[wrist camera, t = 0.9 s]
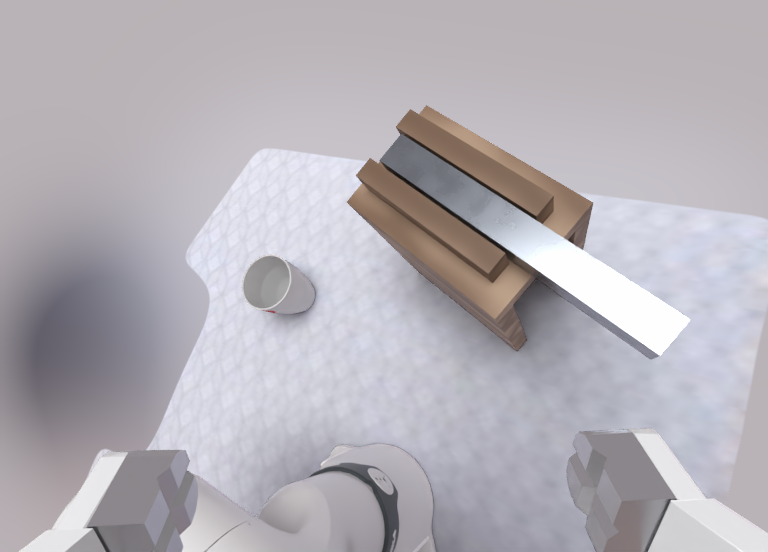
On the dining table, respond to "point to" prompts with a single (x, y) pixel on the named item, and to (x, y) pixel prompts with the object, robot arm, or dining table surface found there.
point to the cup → (277, 286)
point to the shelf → (458, 272)
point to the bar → (541, 251)
